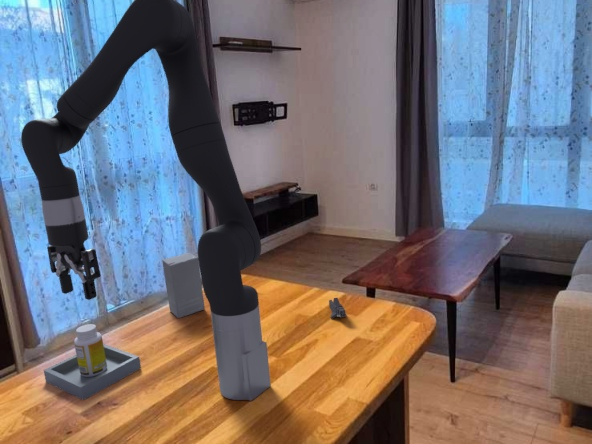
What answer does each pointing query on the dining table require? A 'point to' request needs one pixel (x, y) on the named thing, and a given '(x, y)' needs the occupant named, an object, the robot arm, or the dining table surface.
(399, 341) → the dining table surface
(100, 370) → the supplement bottle
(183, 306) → the skincare box
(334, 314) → the animal figurine
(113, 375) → the slate tray
